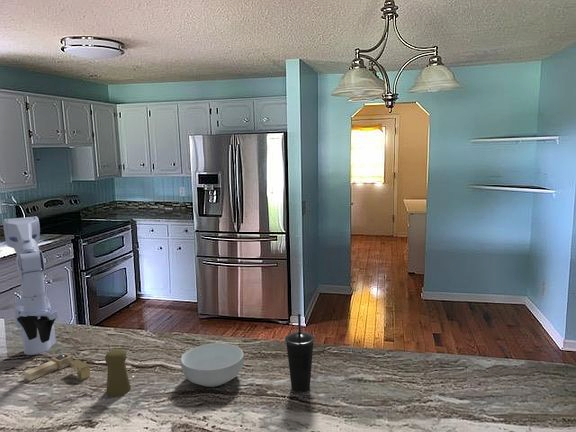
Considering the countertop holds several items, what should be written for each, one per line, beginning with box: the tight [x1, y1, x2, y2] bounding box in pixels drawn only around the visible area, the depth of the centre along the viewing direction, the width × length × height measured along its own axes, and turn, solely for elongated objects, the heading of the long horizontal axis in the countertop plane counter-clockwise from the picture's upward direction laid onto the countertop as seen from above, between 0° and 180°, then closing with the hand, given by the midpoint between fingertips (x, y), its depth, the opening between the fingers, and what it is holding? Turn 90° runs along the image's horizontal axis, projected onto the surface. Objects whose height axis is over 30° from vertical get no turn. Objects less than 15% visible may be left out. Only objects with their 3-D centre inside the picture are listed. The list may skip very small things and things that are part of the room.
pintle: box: [57, 353, 65, 360], centre depth 129 cm, size 2×2×4 cm
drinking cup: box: [284, 313, 316, 393], centre depth 114 cm, size 8×8×20 cm
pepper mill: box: [104, 348, 132, 398], centre depth 115 cm, size 6×6×11 cm
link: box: [23, 352, 74, 382], centre depth 126 cm, size 12×4×2 cm, turn 147°
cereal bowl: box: [180, 342, 245, 388], centre depth 120 cm, size 17×17×7 cm
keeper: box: [69, 359, 91, 381], centre depth 123 cm, size 7×2×4 cm, turn 52°
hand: (39, 339), depth 127 cm, fingers open, 5 cm apart
